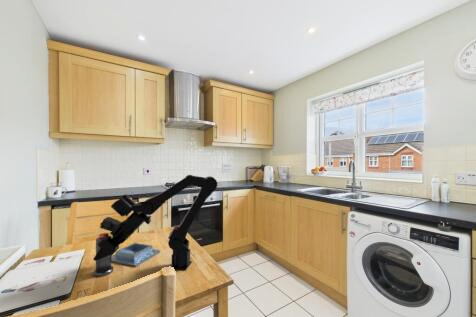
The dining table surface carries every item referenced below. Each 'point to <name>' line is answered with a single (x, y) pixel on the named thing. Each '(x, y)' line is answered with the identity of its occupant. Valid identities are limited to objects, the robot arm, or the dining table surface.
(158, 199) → the robot arm
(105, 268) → the dark upright cylinder piece
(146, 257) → the flange socket
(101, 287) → the dining table surface
